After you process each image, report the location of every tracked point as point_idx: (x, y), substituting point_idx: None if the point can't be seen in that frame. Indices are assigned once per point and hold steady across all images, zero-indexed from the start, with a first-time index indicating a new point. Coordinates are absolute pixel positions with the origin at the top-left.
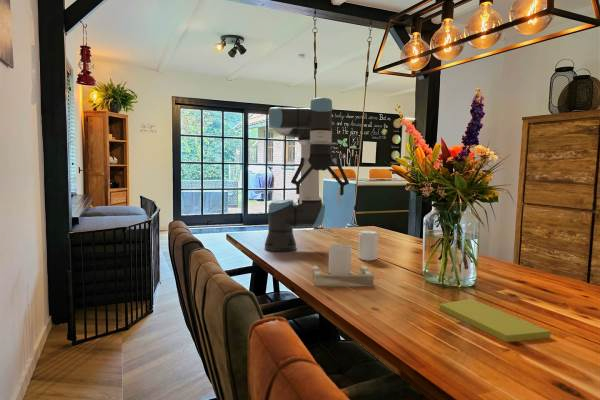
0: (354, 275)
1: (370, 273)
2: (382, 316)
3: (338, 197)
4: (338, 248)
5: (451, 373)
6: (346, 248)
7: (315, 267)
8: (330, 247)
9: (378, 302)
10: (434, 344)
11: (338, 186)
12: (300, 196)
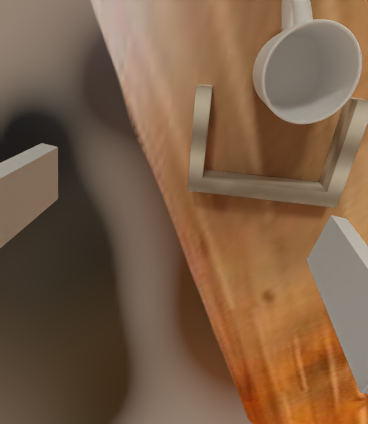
0: (288, 196)
1: (341, 185)
2: (265, 319)
3: (326, 299)
4: (317, 25)
5: (268, 410)
6: (348, 45)
7: (201, 108)
8: (262, 90)
9: (288, 276)
10: (288, 379)
11: (363, 391)
12: (19, 225)
